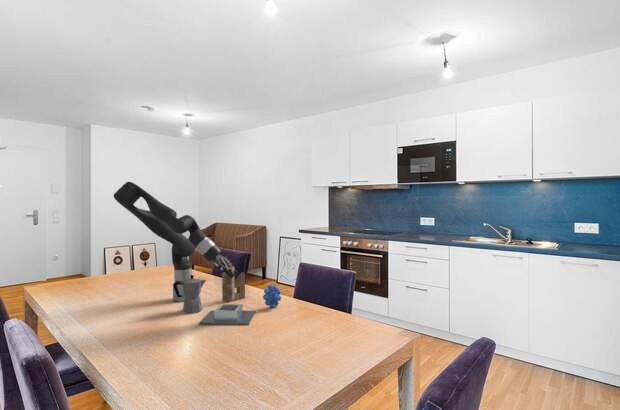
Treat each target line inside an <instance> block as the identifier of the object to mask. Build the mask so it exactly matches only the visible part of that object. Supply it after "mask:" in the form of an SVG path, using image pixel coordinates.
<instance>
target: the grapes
mask: <svg viewBox="0 0 620 410" xmlns="http://www.w3.org/2000/svg"><path fill="white" fill-rule="evenodd" d="M263 292H264V294H263V295H262V298H263V300H264V301H265V302H264V304H265V306H269V307H270V308H271V309H272V308H274V307H277V306H279V303H280V301H281V300H282V296H281V293H282V292H281V289H279V288H278V285H275V284H273V285H272V284H269V285H268V286H267V288H265V289H264V291H263Z"/></svg>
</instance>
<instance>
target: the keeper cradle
mask: <svg viewBox="0 0 620 410" xmlns="http://www.w3.org/2000/svg"><path fill="white" fill-rule="evenodd" d="M255 315H256V310H243V303H221V304H219V306H218V307H217V308H216V309H215V310H211V309H210V311H208V313H207V314H205V316H204V317H203V318H202V319H201V320H200V321H199V326H200V325H201V326H207V325H208V326H210V325H211V326H215V325H216V326H217V325H220V326H223V325H224V326H231V325H232V326H234V325H235V326H249V325H250V323H251V321H252V320H253V318H254V316H255Z"/></svg>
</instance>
